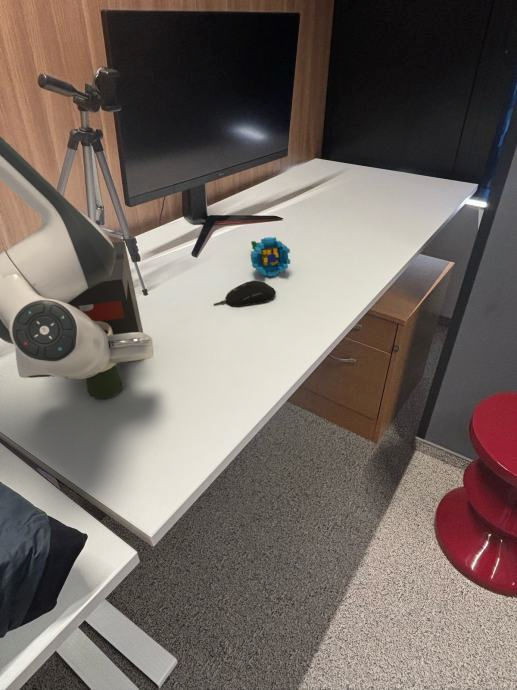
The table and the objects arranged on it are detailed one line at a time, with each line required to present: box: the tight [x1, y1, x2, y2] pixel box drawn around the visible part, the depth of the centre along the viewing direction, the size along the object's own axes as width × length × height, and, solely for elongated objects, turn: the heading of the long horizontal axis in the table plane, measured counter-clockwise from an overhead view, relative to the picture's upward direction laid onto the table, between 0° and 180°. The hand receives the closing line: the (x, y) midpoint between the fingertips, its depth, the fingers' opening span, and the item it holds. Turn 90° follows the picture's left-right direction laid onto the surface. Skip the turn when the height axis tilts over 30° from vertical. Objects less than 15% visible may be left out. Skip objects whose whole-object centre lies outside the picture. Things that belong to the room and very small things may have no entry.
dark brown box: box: [67, 240, 145, 364], centre depth 87 cm, size 14×14×22 cm
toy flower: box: [250, 236, 291, 277], centre depth 123 cm, size 9×9×18 cm
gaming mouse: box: [213, 280, 277, 307], centre depth 110 cm, size 6×15×4 cm, turn 108°
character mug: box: [84, 321, 124, 400], centre depth 84 cm, size 11×7×13 cm, turn 6°
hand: (97, 358), depth 84 cm, fingers closed on character mug, 7 cm apart
